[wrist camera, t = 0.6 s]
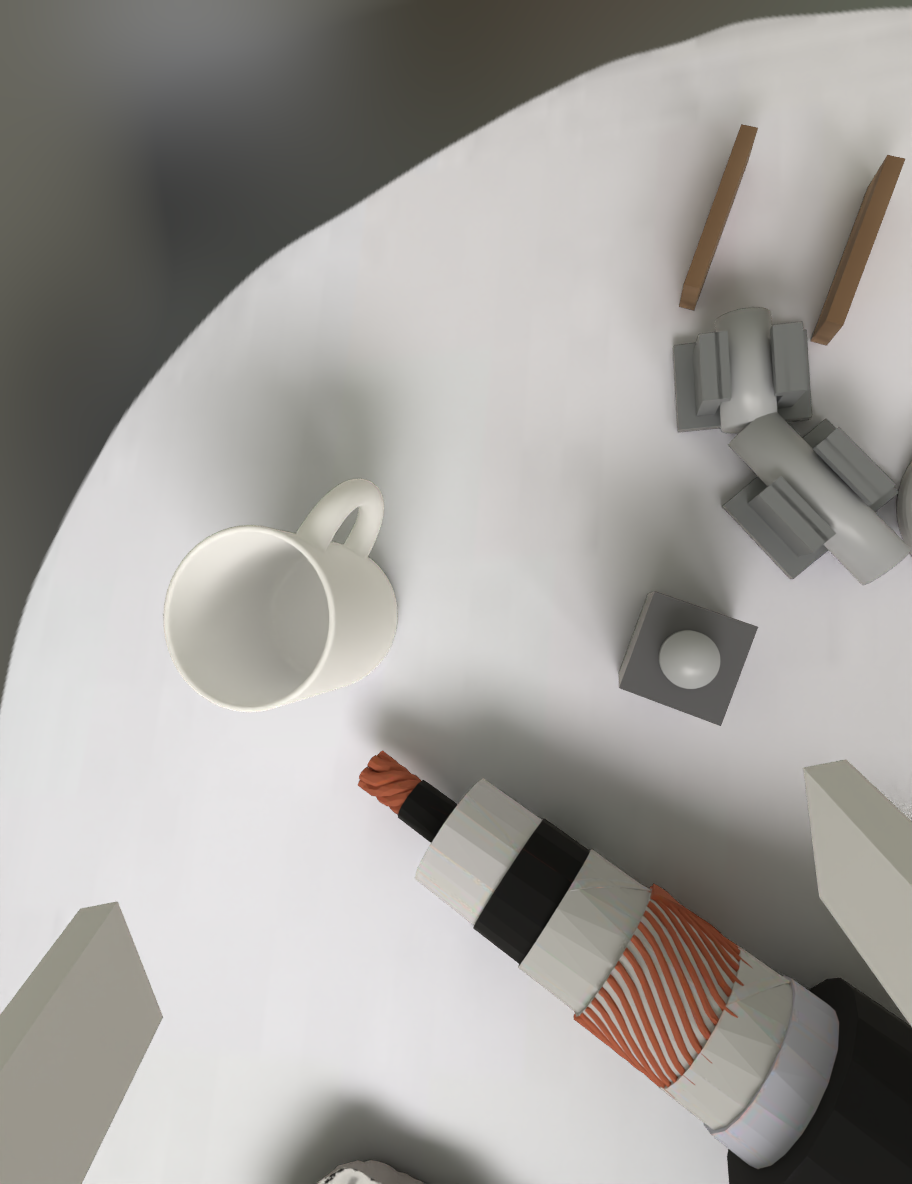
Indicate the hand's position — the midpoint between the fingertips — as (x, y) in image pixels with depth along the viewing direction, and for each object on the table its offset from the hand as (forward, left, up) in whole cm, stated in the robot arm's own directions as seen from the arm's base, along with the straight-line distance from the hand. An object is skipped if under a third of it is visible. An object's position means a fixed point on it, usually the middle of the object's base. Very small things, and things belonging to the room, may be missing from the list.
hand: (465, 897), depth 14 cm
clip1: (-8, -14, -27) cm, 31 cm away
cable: (-8, +10, -27) cm, 30 cm away
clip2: (-3, -19, -27) cm, 33 cm away
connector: (-4, -5, -27) cm, 28 cm away
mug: (+14, -2, -27) cm, 30 cm away
